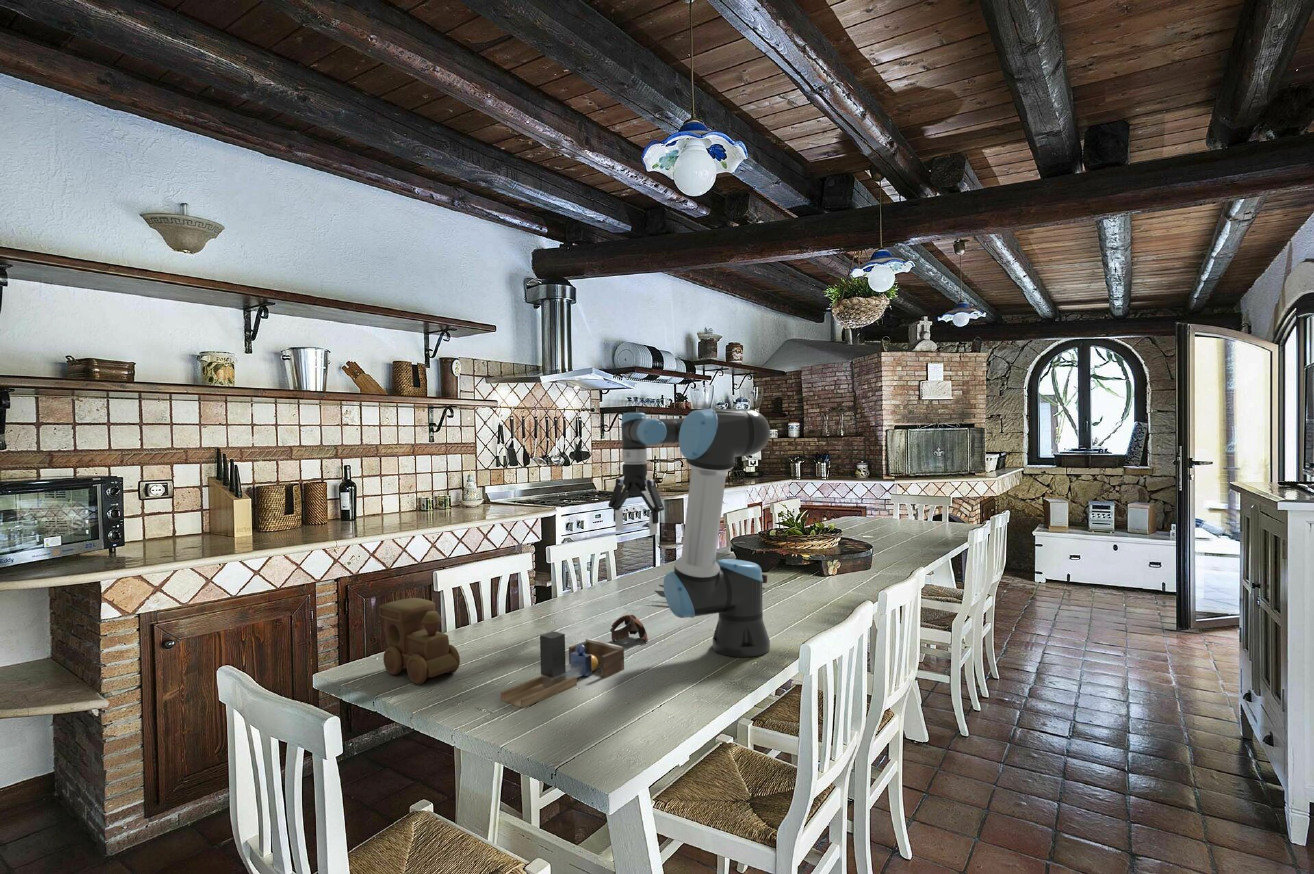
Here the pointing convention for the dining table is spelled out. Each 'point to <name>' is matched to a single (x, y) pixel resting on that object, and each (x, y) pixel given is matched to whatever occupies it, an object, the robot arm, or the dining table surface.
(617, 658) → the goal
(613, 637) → the brown curved piece
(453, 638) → the dining table surface
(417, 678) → the wooden toy train
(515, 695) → the track
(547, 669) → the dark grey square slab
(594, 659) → the ball
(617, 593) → the dining table surface
